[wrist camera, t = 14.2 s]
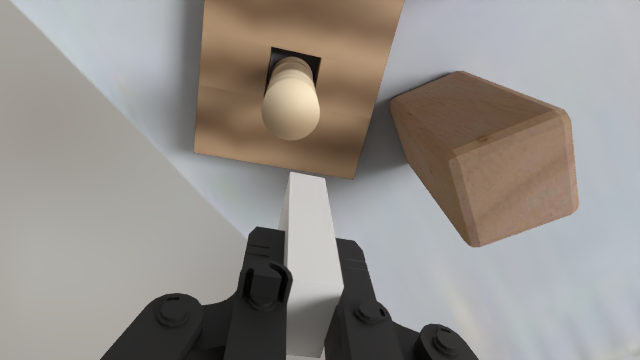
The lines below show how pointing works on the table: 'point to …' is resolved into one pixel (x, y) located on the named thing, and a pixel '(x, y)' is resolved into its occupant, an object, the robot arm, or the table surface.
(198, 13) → the table surface
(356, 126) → the board
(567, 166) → the wooden block
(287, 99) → the peg
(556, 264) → the table surface
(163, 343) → the robot arm
